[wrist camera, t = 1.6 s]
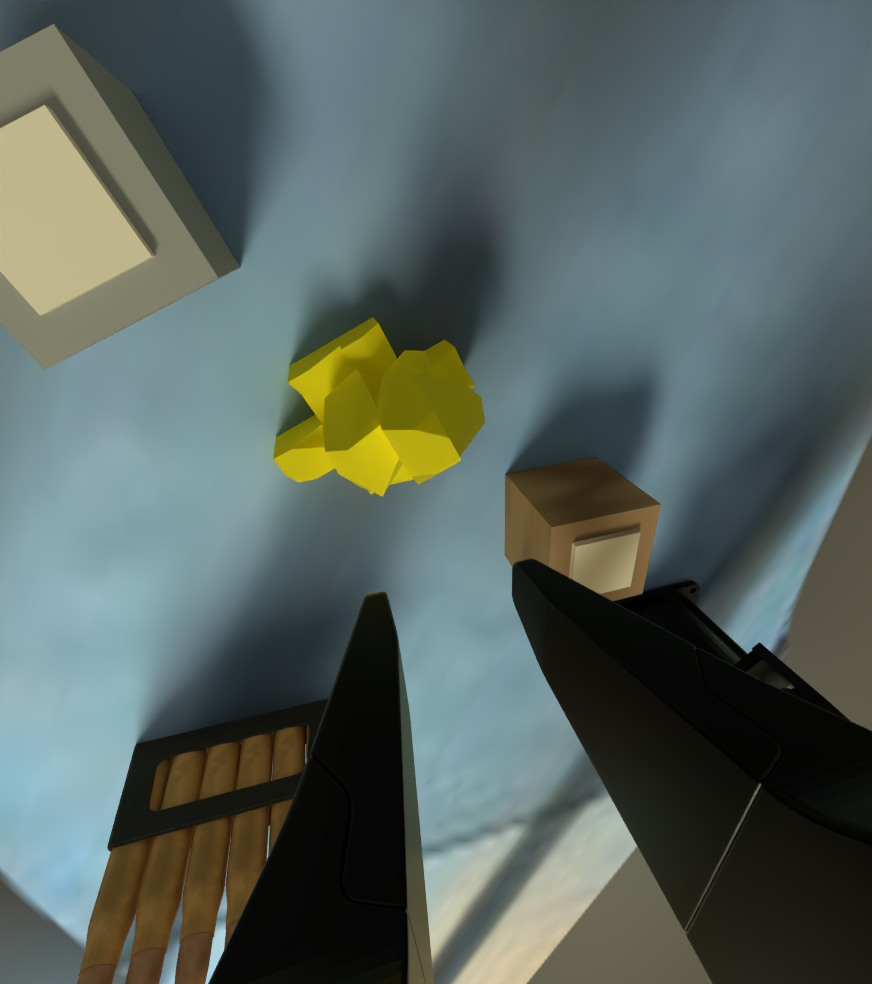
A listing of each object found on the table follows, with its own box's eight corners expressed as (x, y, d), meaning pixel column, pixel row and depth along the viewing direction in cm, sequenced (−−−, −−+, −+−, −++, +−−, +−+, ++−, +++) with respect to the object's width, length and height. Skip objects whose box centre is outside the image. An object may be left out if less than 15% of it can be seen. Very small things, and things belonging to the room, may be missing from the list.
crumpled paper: (242, 392, 18) (207, 483, 11) (420, 288, 18) (490, 319, 11) (326, 501, 21) (337, 621, 14) (478, 413, 21) (560, 494, 14)
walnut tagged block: (596, 456, 24) (665, 507, 19) (587, 536, 26) (646, 597, 22) (504, 473, 23) (555, 531, 18) (504, 554, 25) (548, 622, 21)
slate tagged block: (132, 92, 13) (46, 17, 9) (240, 267, 16) (216, 278, 11) (-21, 172, 13) (-186, 140, 9) (113, 334, 16) (38, 372, 11)
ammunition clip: (334, 696, 27) (354, 973, 17) (338, 716, 28) (360, 990, 18) (134, 744, 25) (19, 1093, 15) (146, 763, 26) (46, 1105, 16)
